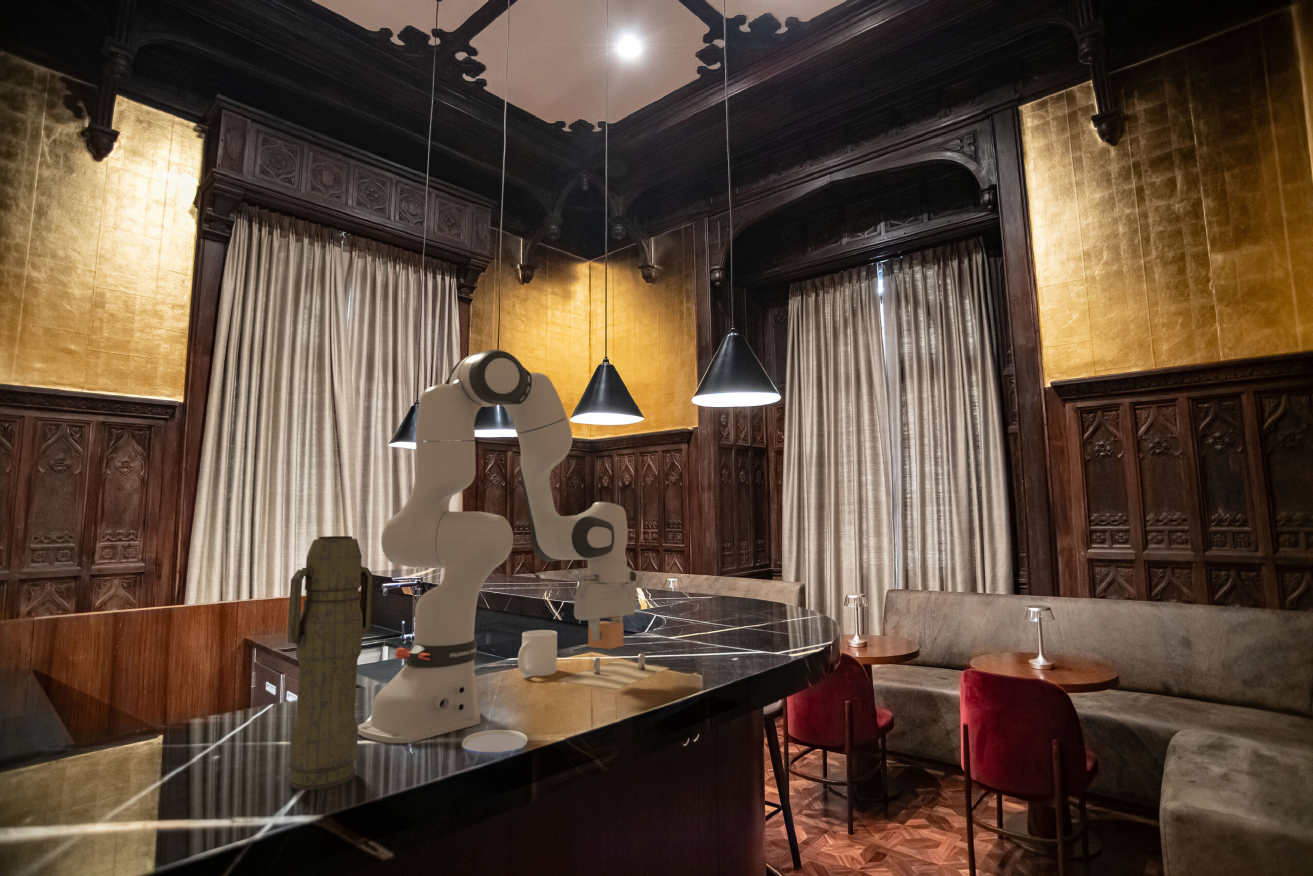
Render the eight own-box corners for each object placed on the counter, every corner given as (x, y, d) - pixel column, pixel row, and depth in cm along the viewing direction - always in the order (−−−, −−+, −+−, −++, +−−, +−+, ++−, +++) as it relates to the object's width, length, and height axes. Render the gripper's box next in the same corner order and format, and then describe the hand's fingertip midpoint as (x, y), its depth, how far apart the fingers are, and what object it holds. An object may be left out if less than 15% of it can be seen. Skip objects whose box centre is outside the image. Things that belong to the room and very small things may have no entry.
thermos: (377, 771, 102) (388, 536, 106) (302, 799, 92) (317, 538, 96) (340, 760, 106) (352, 535, 110) (265, 786, 96) (281, 537, 100)
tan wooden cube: (609, 648, 146) (609, 624, 147) (587, 646, 149) (588, 623, 150) (623, 645, 151) (623, 622, 152) (602, 644, 154) (602, 621, 154)
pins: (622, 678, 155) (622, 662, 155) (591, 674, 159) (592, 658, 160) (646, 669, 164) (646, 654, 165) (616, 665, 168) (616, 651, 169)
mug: (532, 686, 153) (533, 639, 154) (503, 682, 156) (504, 636, 158) (563, 675, 163) (564, 631, 164) (535, 671, 167) (536, 629, 168)
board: (616, 695, 145) (616, 689, 145) (556, 686, 153) (556, 680, 153) (669, 672, 166) (669, 667, 166) (614, 665, 173) (614, 661, 174)
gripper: (592, 576, 142) (590, 644, 140) (641, 574, 160) (641, 634, 157) (568, 575, 145) (565, 642, 143) (619, 573, 163) (618, 633, 160)
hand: (605, 638), depth 150 cm, fingers closed on tan wooden cube, 6 cm apart
